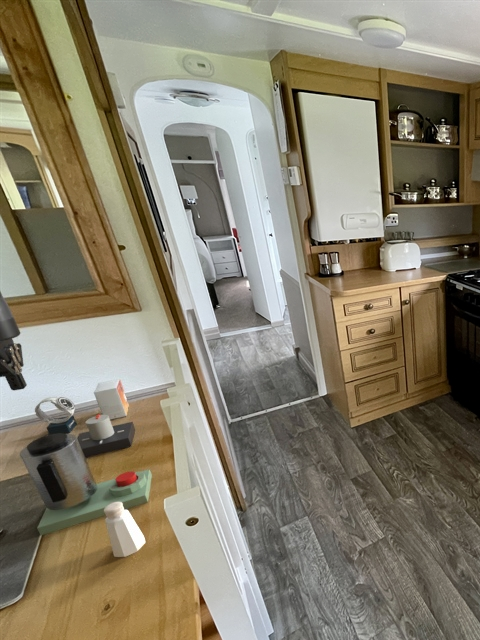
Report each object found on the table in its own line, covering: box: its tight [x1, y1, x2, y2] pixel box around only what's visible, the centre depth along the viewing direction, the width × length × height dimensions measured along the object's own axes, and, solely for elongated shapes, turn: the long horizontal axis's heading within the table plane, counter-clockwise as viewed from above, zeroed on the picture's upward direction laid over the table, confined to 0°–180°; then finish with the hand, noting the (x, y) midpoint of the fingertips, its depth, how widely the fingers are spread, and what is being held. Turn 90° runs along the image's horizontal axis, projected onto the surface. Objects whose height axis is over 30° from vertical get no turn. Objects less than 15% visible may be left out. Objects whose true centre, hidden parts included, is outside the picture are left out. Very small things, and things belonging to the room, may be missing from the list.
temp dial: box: [85, 414, 114, 440], centre depth 108 cm, size 5×5×6 cm
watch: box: [34, 396, 78, 435], centre depth 114 cm, size 6×8×11 cm
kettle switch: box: [114, 470, 137, 487], centre depth 90 cm, size 4×4×2 cm
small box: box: [93, 379, 130, 421], centre depth 123 cm, size 8×6×10 cm
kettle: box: [19, 433, 98, 510], centre depth 82 cm, size 8×10×15 cm
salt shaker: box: [104, 502, 147, 558], centre depth 76 cm, size 5×5×11 cm
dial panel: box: [76, 421, 136, 459], centre depth 109 cm, size 12×10×3 cm
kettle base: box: [36, 468, 153, 536], centre depth 88 cm, size 18×11×4 cm, turn 124°
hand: (19, 388), depth 89 cm, fingers closed
